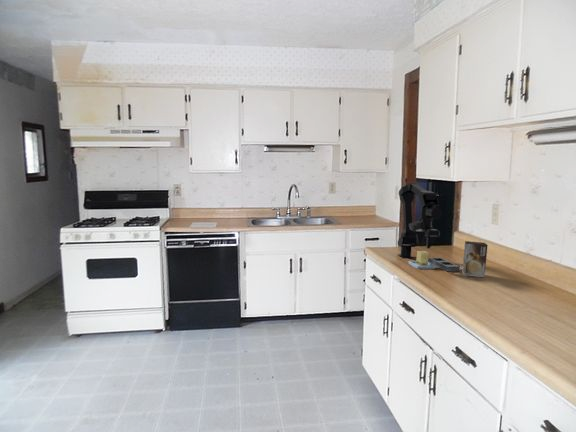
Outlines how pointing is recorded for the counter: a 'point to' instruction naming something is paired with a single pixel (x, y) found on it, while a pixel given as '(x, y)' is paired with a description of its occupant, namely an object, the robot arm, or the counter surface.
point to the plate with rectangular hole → (444, 264)
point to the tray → (430, 266)
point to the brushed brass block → (422, 258)
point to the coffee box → (474, 259)
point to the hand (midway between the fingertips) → (423, 246)
